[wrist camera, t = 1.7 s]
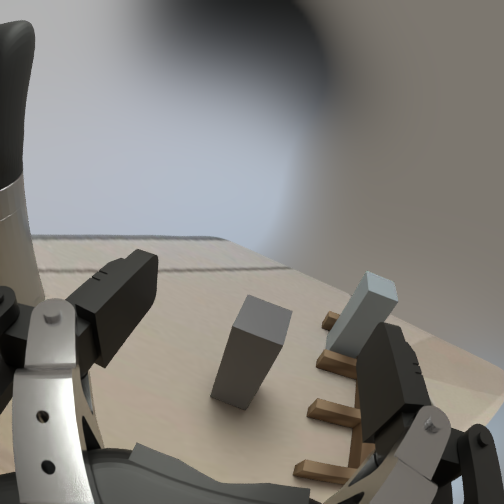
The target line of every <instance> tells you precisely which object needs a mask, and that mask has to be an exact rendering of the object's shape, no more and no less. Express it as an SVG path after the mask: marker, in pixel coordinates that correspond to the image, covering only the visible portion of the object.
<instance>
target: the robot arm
mask: <svg viewBox="0 0 504 504" xmlns="http://www.w3.org/2000/svg"><path fill="white" fill-rule="evenodd" d="M34 50H35V33H34V29H33V26H32V24H31V23H29V22H28V21H23V20H22V21H14V22H8V23H4V24H0V414H1V413H2V411H3V410H4V409H5V407H6V406H7V404H8V403H9V401H10V400H11V398H12V397H13V401H12V433H13V451H14V462H15V471H16V472H12V473H7V474H2V475H0V504H322V503H320V502H317V501H315V500H313V499H311V498H309V496H310V489H308V488H299V487H291V486H284V485H277V484H271V483H258V484H229V483H220V482H218V481H215V480H214V479H212V478H210V477H208V476H206V475H204V474H203V473H201V472H199V471H197V470H195V469H194V468H192V467H190V466H189V465H187V464H185V463H184V462H182V461H180V460H179V459H176V458H174V457H171V456H168V455H166V454H163V453H161V452H158V451H156V450H153V449H151V448H148V447H146V446H144V445H141V444H139V443H136V445H135V447H134V449H133V451H132V450H127V449H118V448H104V444H103V440H102V436H101V433H100V430H99V427H98V423H97V419H96V414H95V408H94V401H93V394H92V387H91V379H90V371H89V369H90V368H91V366H92V365H93V364H94V363H96V364H98V365H99V366H101V367H103V368H106V366H107V365H108V364H109V362H110V361H111V360H112V358H113V357H114V355H115V354H116V353H117V351H118V350H119V349H120V347H121V346H122V345H123V343H124V342H125V341H126V339H127V338H128V337H129V335H130V334H131V333H132V331H133V330H134V329H135V327H136V326H137V325H138V323H139V322H140V321H141V320H142V318H143V317H144V316H145V314H146V313H147V312H148V311H149V309H150V308H151V306H152V305H153V302H154V300H155V297H156V291H157V274H158V256H157V255H155V254H152V253H149V252H146V251H143V250H140V249H137V250H135V251H134V252H133V253H131V254H130V255H129V256H128V257H127V258H125V259H123V258H119V259H117V260H114V261H111V262H109V263H107V264H106V265H105V266H104V267H103V268H101V269H100V270H99V272H97V273H95V274H94V275H93V276H92V278H89V279H88V280H87V281H86V282H85V283H84V284H82V285H81V286H80V287H79V288H78V289H77V290H76V291H74V292H73V293H72V294H71V295H70V296H69V297H68V298H67V299H65V300H63V299H55V298H54V299H48V300H45V301H44V298H45V296H44V290H43V287H42V283H41V279H40V275H39V271H38V267H37V263H36V258H35V254H34V249H33V244H32V239H31V233H30V228H29V221H28V215H27V208H26V199H25V191H24V179H23V161H22V155H23V140H24V117H25V107H26V99H27V92H28V86H29V80H30V75H31V69H32V63H33V57H34ZM418 365H419V363H418V360H417V357H416V354H415V352H414V351H413V349H412V348H411V346H410V345H409V344H408V342H405V339H404V336H403V333H402V330H401V328H400V327H399V326H396V325H392V324H388V323H384V322H380V323H378V324H377V326H376V327H375V329H374V330H373V332H372V334H371V335H370V337H369V339H368V340H367V342H366V343H365V345H364V346H363V348H362V350H361V351H360V353H359V355H358V358H357V362H356V372H357V381H358V391H359V401H360V413H361V427H362V443H373V444H375V449H374V450H373V451H372V452H371V453H370V454H369V455H368V457H367V458H366V459H365V460H364V462H363V463H362V464H361V466H360V467H359V468H358V469H357V470H356V472H355V473H354V474H353V475H352V476H351V478H350V479H349V480H348V481H347V482H346V483H345V485H344V486H343V487H342V488H341V489H340V490H339V491H338V492H337V493H335V494H334V495H333V496H331V497H330V498H329V499H327V500H326V501H325V502H324V503H323V504H453V498H452V486H451V482H452V481H453V480H455V479H457V478H458V477H460V476H461V475H462V481H463V490H464V503H463V504H504V489H503V483H502V477H501V471H500V466H499V461H498V456H497V452H496V448H495V444H494V440H493V437H492V435H491V433H490V431H489V430H488V429H487V428H486V427H485V426H483V425H481V424H475V425H473V426H471V427H470V428H469V429H468V430H467V431H466V432H462V431H459V430H456V429H453V428H451V425H450V421H449V419H448V417H447V416H446V414H445V413H444V412H443V411H442V410H440V409H439V408H437V407H434V406H431V402H430V399H429V395H428V392H427V388H426V385H425V381H424V378H423V375H421V373H422V372H421V369H420V366H418Z"/></svg>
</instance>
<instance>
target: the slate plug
mask: <svg viewBox="0 0 504 504" xmlns="http://www.w3.org/2000/svg"><path fill="white" fill-rule="evenodd" d="M397 303H398V298H397V293H396V289H395V284H394V282H393V281H391V280H388V279H385V278H383V277H381V276H378V275H376V274H373V273H371V272H368V271H366V273H365V274H364V276H363V278H362V280H361V282H360V283H359V285H358V287H357V288H356V290H355V292H354V294H353V295H352V297H351V298H350V300H349V302H348V303H347V305H346V307H345V308H344V310H343V312H342V313H341V315H340V316H339V318H338V319H337V321H336V323H335V324H334V326H333V327H332V329H331V330H330V332H329V333H328V335H327V341H326V349H327V350H330V351H333V352H336V353H339V354H342V355H345V356H348V357H351V358H354V359H355V358H356V357H357V356H358V355H359V353H360V351H361V350H362V348H363V346H364V345H365V343H366V342H367V340H368V339H369V337H370V335H371V334H372V332H373V330H374V329H375V327H376V326H377V324H378V323H380V322H384V321H385V320H386V319H387V317H388V316H389V314H390V313H391V311H392V310H393V308H394V307H395V306H396V304H397Z"/></svg>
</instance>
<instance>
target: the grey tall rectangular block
mask: <svg viewBox="0 0 504 504" xmlns="http://www.w3.org/2000/svg"><path fill="white" fill-rule="evenodd" d="M291 315H292V311H290V310H288V309H285V308H282V307H280V306H277V305H274V304H272V303H269V302H267V301H264V300H261V299H259V298H256V297H254V296H251V295H247V297H246V299H245V301H244V303H243V306H242V308H241V310H240V312H239V314H238V316H237V318H236V320H235V322H234V324H233V326H232V329H231V332H230V335H229V339H228V342H227V345H226V348H225V351H224V354H223V357H222V361H221V364H220V367H219V370H218V373H217V376H216V379H215V382H214V386H213V389H212V392H211V395H210V397H213V398H215V399H218V400H220V401H223V402H225V403H228V404H230V405H233V406H236V407H238V408H241V409H244V410H246V409H247V407H248V405H249V404H250V402H251V400H252V399H253V397H254V396H255V394H256V392H257V391H258V389H259V387H260V385H261V384H262V382H263V380H264V379H265V377H266V375H267V373H268V372H269V370H270V368H271V366H272V365H273V363H274V361H275V359H276V358H277V356H278V354H279V352H280V350H281V349H282V347H283V345H284V341H285V337H286V334H287V330H288V326H289V323H290V319H291Z"/></svg>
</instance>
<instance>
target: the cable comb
mask: <svg viewBox="0 0 504 504" xmlns="http://www.w3.org/2000/svg"><path fill="white" fill-rule="evenodd" d="M339 316H340V315H339V314H336V313H334V312H331V311H329V312H328V314H327V316H326V317H325V319H324V321H323V322H322V328H324V329H326V330H329V331H330V330H331V329H332V327H333V326H334V324H335V323H336V321H337V319H338V318H339ZM357 358H358V356H357ZM356 362H357V359H354V358H351V357H348V356H345V355H342V354H339V353H336V352H333V351H330V350H327V349H324V351H323V352H322V354H321V355H320V357H319V358H318V359H317V362H316V367H317V368H320V369H323V370H326V371H330V372H333V373H336V374H339V375H343V376H346V377H349V378H353V379H356V393H355V408H352V407H348V406H344V405H340V404H336V403H333V402H329V401H326V400H322V399H319V398H317V399H316V400H315V401H314V402H313V403H312V405H311V406H310V407H309V408H308V412H307V417H310V418H314V419H318V420H322V421H326V422H329V423H334V424H338V425H342V426H346V427H351V428H353V430H352V440H351V448H350V456H349V463H348V468H347V467H341V466H335V465H330V464H324V463H319V462H315V461H310V460H304V461H302V462H300V463H298V464H297V465H295V469H294V472H293V475H294V476H299V477H303V478H308V479H313V480H319V481H325V482H331V483H338V484H345V483H346V482H347V481H348V480H349V479H350V478H351V476H352V475H353V474H354V473H355V472H356V470H357V469H358V468H359V467H360V466H361V464H362V463H363V462H364V460H365V459H366V458H367V457H368V455H369V454H370V453H371V452H372V451H373V450H374V449H375V444H373V443H362V427H361V413H360V401H359V391H358V381H357V372H356Z"/></svg>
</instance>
